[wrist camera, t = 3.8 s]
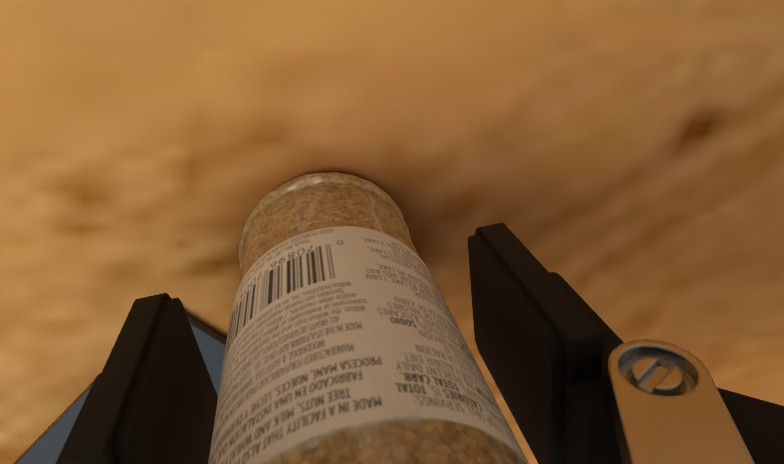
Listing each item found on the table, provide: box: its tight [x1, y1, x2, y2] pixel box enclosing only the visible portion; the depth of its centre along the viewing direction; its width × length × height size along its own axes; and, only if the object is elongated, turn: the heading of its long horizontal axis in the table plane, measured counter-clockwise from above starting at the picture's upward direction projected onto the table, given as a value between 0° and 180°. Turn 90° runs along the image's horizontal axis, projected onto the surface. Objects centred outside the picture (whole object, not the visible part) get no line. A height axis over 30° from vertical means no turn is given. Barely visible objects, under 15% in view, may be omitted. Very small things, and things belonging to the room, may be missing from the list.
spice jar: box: [208, 172, 529, 464], centre depth 8 cm, size 5×5×13 cm
